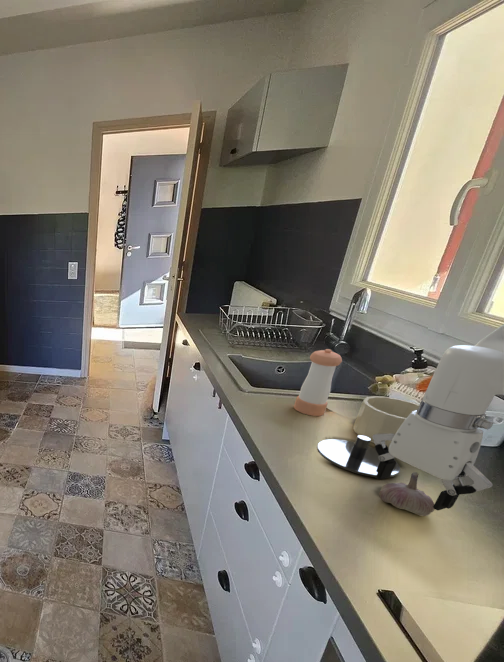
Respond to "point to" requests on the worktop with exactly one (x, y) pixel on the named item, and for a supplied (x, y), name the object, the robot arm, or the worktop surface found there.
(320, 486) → the worktop surface
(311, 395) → the pepper shaker
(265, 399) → the worktop surface
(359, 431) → the bowl
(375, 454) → the lid
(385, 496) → the garlic bulb
